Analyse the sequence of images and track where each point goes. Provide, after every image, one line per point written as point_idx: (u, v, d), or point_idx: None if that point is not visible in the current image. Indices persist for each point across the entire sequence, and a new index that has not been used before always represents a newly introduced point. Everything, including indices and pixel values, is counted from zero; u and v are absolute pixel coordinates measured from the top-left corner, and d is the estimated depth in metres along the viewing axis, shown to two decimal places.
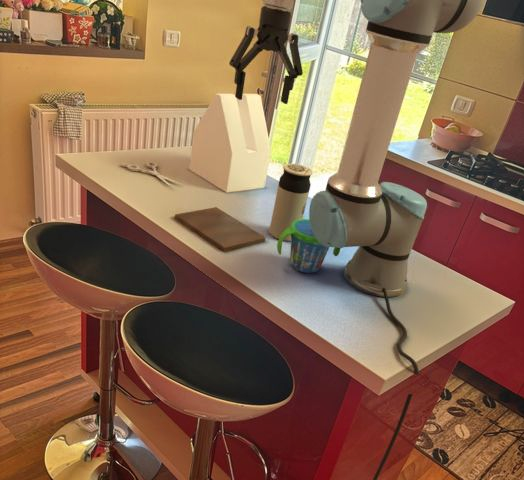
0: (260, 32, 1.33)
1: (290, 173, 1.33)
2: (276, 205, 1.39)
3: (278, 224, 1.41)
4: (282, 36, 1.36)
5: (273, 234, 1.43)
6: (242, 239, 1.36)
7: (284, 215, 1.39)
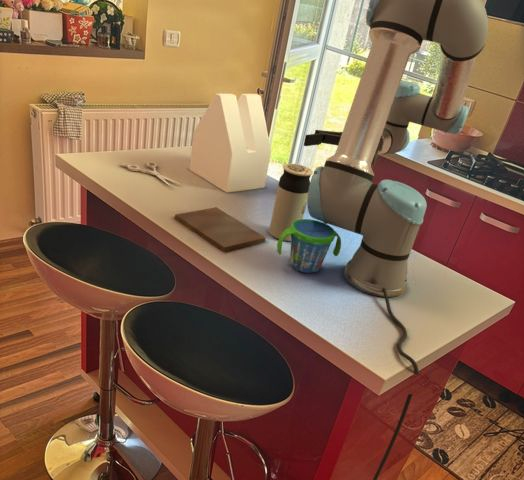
0: None
1: (290, 173, 1.33)
2: (276, 205, 1.39)
3: (278, 224, 1.41)
4: None
5: (273, 234, 1.43)
6: (242, 239, 1.36)
7: (284, 215, 1.39)
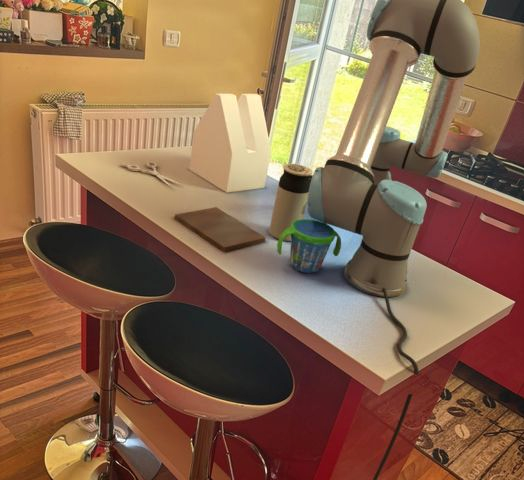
0: None
1: (290, 173, 1.33)
2: (276, 205, 1.39)
3: (278, 224, 1.41)
4: None
5: (273, 234, 1.43)
6: (242, 239, 1.36)
7: (284, 215, 1.39)
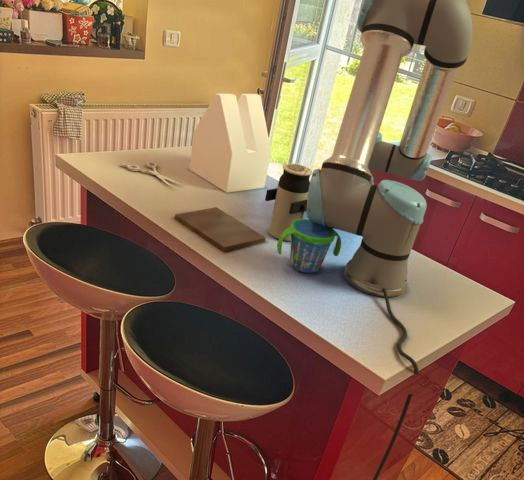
0: None
1: (290, 173, 1.33)
2: (276, 205, 1.39)
3: (278, 224, 1.41)
4: None
5: (273, 234, 1.43)
6: (242, 239, 1.36)
7: (284, 215, 1.39)
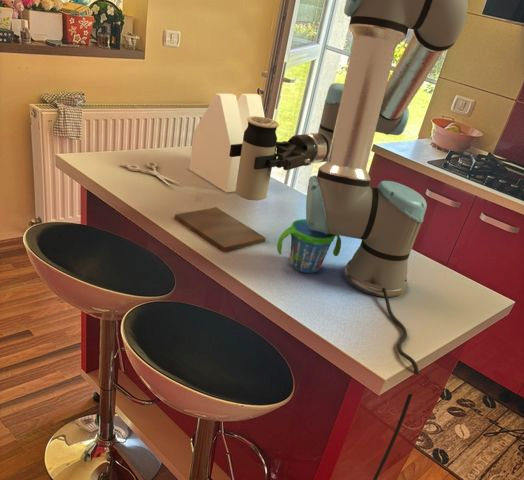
0: None
1: (254, 125, 1.25)
2: (241, 161, 1.31)
3: (243, 182, 1.32)
4: (298, 149, 1.38)
5: (239, 193, 1.34)
6: (242, 239, 1.36)
7: (249, 171, 1.30)
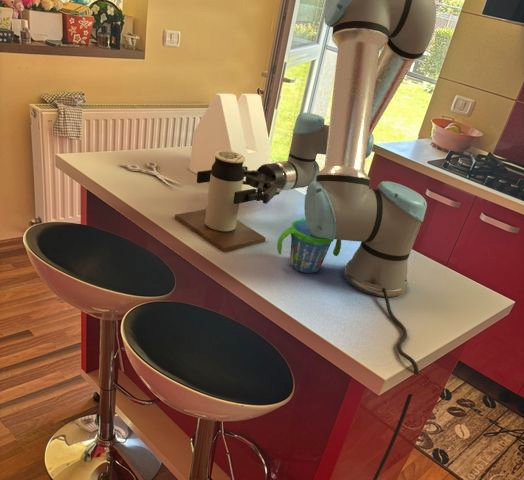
0: None
1: (220, 160, 1.28)
2: (209, 194, 1.34)
3: (212, 214, 1.35)
4: (267, 179, 1.40)
5: (208, 224, 1.37)
6: (242, 239, 1.36)
7: (217, 204, 1.33)
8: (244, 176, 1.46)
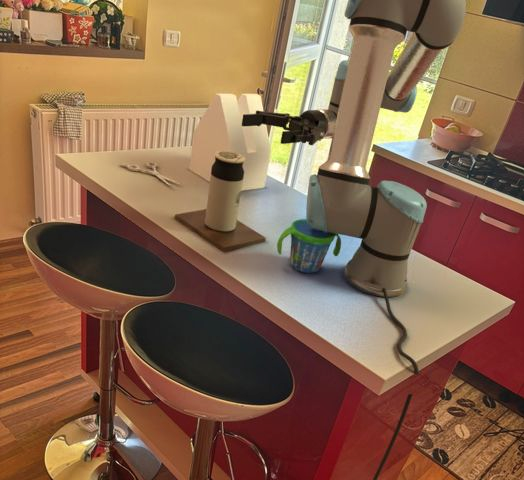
0: None
1: (220, 160, 1.28)
2: (209, 194, 1.34)
3: (212, 214, 1.35)
4: (310, 124, 1.41)
5: (208, 224, 1.37)
6: (242, 239, 1.36)
7: (217, 204, 1.33)
8: None
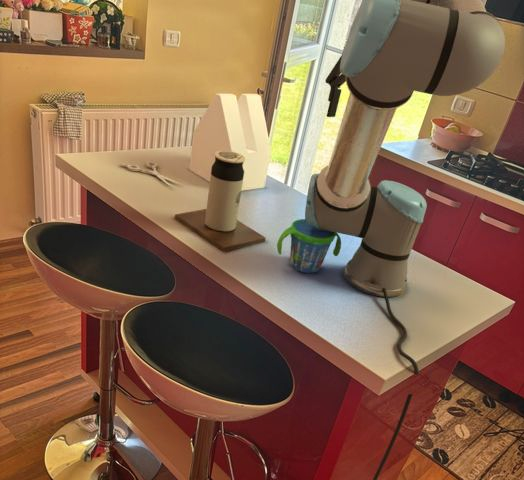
0: None
1: (220, 160, 1.28)
2: (209, 194, 1.34)
3: (212, 214, 1.35)
4: None
5: (208, 224, 1.37)
6: (242, 239, 1.36)
7: (217, 204, 1.33)
8: None
